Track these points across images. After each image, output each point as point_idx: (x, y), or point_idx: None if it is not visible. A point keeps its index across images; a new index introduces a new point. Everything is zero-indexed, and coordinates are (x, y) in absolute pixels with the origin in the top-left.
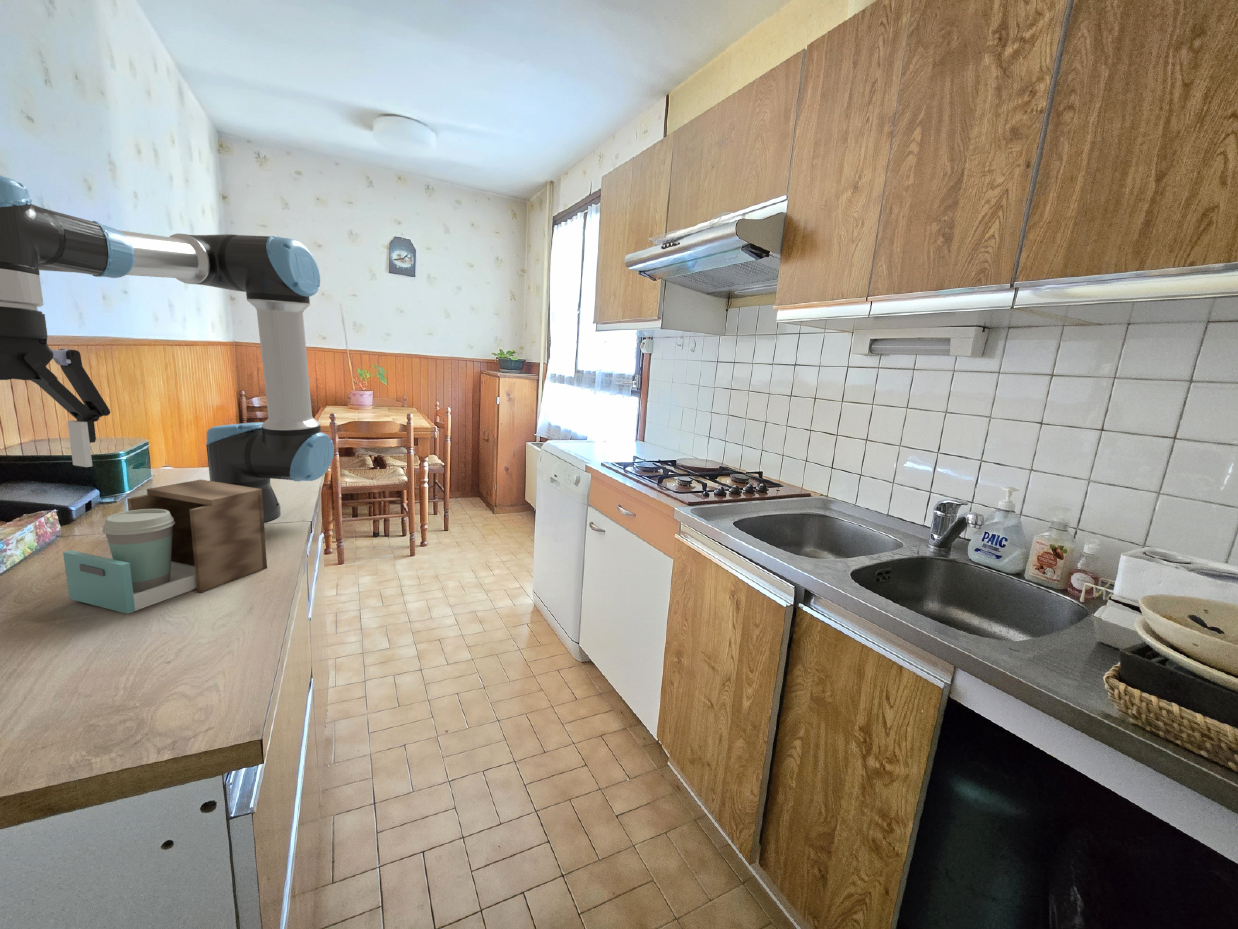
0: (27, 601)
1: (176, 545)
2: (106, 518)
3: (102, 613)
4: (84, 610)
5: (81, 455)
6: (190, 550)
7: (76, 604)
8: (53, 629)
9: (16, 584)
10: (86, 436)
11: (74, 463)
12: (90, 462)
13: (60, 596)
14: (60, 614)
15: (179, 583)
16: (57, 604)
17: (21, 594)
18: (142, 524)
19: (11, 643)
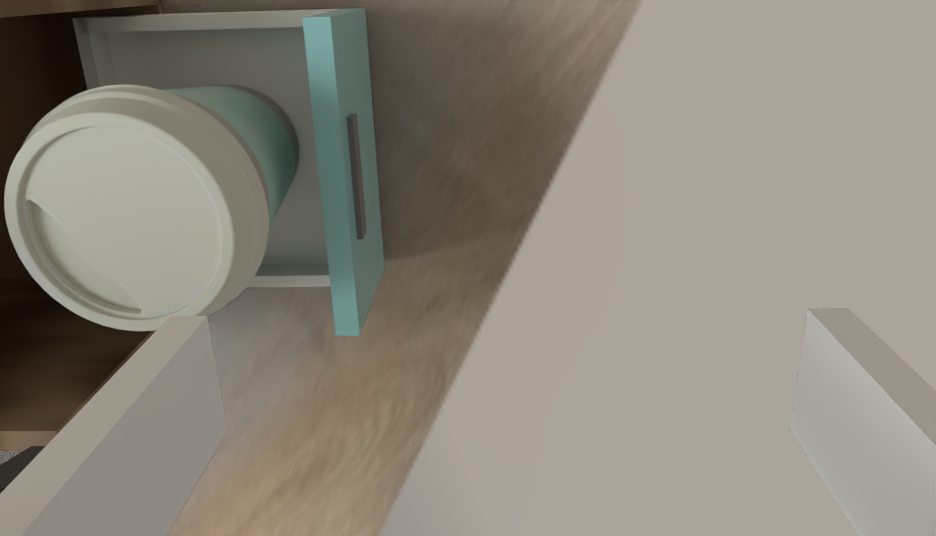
0: (430, 361)
1: (47, 307)
2: (223, 280)
3: (384, 108)
4: (396, 175)
5: (179, 387)
6: (23, 294)
7: (384, 236)
8: (495, 115)
9: (387, 493)
10: (60, 449)
11: (220, 426)
12: (165, 331)
13: (376, 327)
14: (437, 203)
15: (190, 14)
16: (407, 279)
17: (413, 419)
18: (159, 114)
19: (581, 118)
